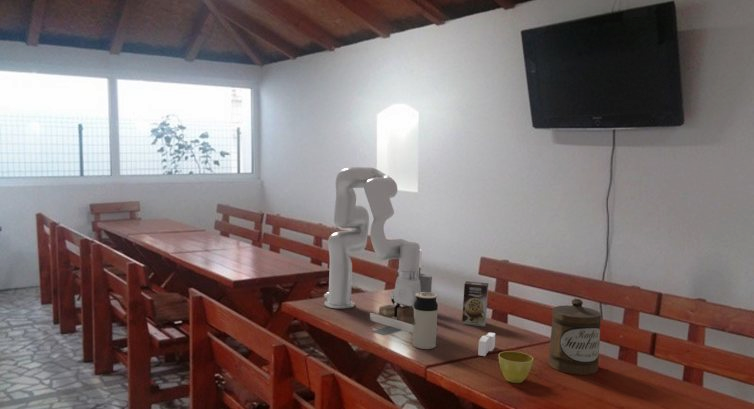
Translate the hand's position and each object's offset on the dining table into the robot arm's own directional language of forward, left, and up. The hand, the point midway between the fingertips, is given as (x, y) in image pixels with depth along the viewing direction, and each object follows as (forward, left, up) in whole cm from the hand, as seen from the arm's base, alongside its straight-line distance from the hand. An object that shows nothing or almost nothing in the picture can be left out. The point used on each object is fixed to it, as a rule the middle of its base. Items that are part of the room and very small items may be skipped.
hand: (406, 319), depth 237 cm
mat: (0, -11, -3) cm, 12 cm away
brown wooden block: (0, 0, -2) cm, 2 cm away
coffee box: (+14, +24, -3) cm, 28 cm away
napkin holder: (+37, -1, -3) cm, 38 cm away
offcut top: (-11, +1, 0) cm, 11 cm away
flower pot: (+58, -18, -3) cm, 61 cm away
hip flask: (-8, +14, -3) cm, 16 cm away
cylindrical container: (-18, +23, -3) cm, 29 cm away
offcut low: (-11, 0, -2) cm, 11 cm away
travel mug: (+20, -14, -3) cm, 25 cm away
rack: (-3, 0, -3) cm, 4 cm away
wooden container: (+64, +7, -3) cm, 65 cm away
